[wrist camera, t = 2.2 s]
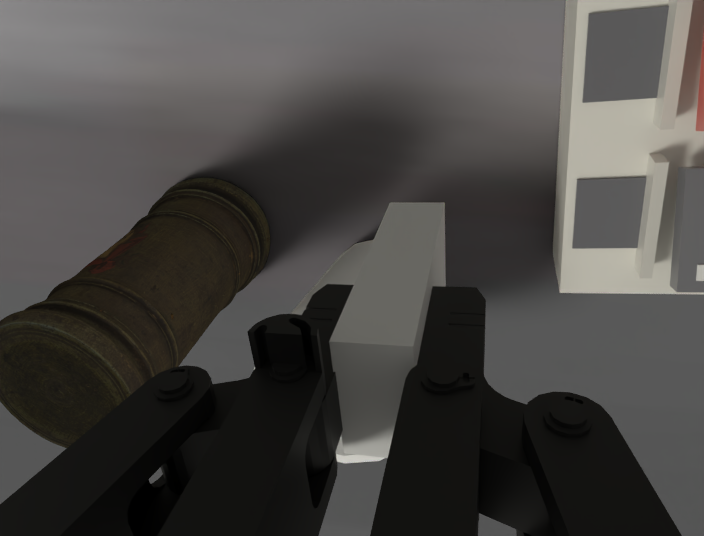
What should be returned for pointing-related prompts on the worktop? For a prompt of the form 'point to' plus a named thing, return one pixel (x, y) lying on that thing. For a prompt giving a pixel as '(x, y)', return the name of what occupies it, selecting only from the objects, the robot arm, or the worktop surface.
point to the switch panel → (624, 141)
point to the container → (131, 309)
